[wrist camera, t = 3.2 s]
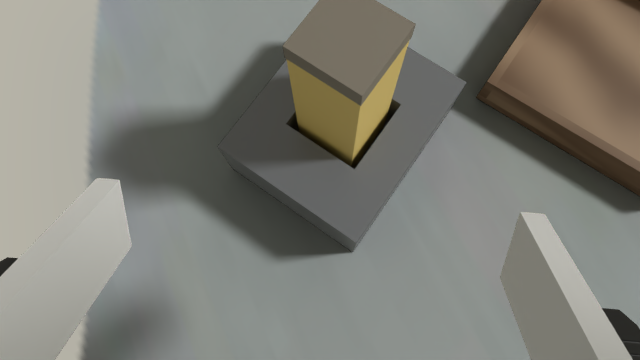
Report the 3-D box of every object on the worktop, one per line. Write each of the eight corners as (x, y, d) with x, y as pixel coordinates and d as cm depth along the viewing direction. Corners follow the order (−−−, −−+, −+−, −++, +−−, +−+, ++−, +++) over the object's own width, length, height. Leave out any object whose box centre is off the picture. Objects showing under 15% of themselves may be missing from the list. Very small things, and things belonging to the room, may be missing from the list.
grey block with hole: (332, 40, 35) (332, 2, 31) (448, 111, 33) (466, 82, 29) (232, 168, 33) (217, 146, 28) (352, 252, 31) (356, 243, 27)
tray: (569, -41, 36) (586, -66, 34) (745, 52, 34) (777, 32, 32) (475, 97, 34) (487, 81, 31) (661, 209, 31) (688, 200, 29)
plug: (334, 95, 33) (337, -22, 21) (384, 127, 32) (415, 24, 20) (299, 141, 32) (282, 46, 20) (350, 175, 31) (362, 96, 20)
